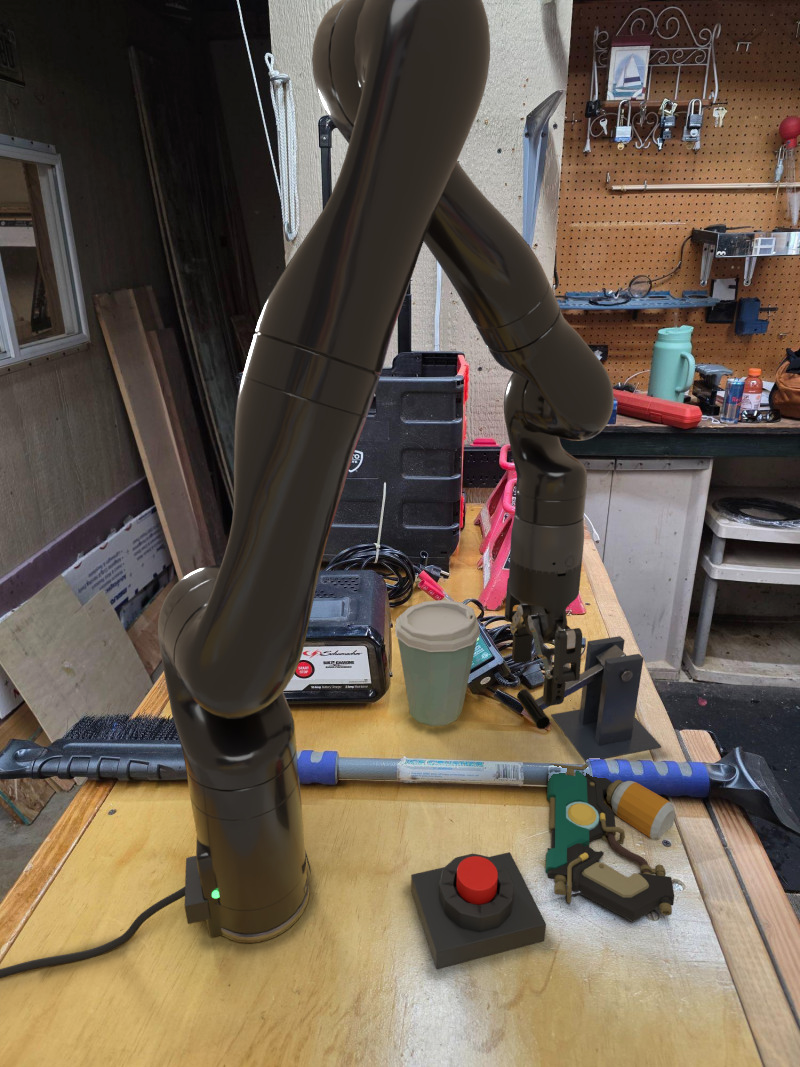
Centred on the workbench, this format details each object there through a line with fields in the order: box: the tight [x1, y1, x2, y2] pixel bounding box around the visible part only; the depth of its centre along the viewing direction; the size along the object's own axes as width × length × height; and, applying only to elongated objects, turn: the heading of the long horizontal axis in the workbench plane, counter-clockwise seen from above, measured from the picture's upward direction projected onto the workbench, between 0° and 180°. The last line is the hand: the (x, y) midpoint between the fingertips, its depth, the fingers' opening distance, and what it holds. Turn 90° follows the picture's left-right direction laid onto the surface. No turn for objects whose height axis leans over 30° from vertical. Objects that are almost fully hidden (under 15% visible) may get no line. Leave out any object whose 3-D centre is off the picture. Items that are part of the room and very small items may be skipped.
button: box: [457, 856, 498, 904], centre depth 61 cm, size 4×4×2 cm
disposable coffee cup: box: [394, 599, 481, 727], centre depth 87 cm, size 11×11×15 cm
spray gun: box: [545, 763, 676, 923], centre depth 69 cm, size 4×17×15 cm
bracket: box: [550, 635, 662, 764], centre depth 83 cm, size 10×9×13 cm
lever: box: [516, 645, 627, 730], centre depth 81 cm, size 13×6×2 cm, turn 105°
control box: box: [410, 851, 547, 970], centre depth 62 cm, size 10×8×4 cm
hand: (536, 681), depth 79 cm, fingers open, 8 cm apart
